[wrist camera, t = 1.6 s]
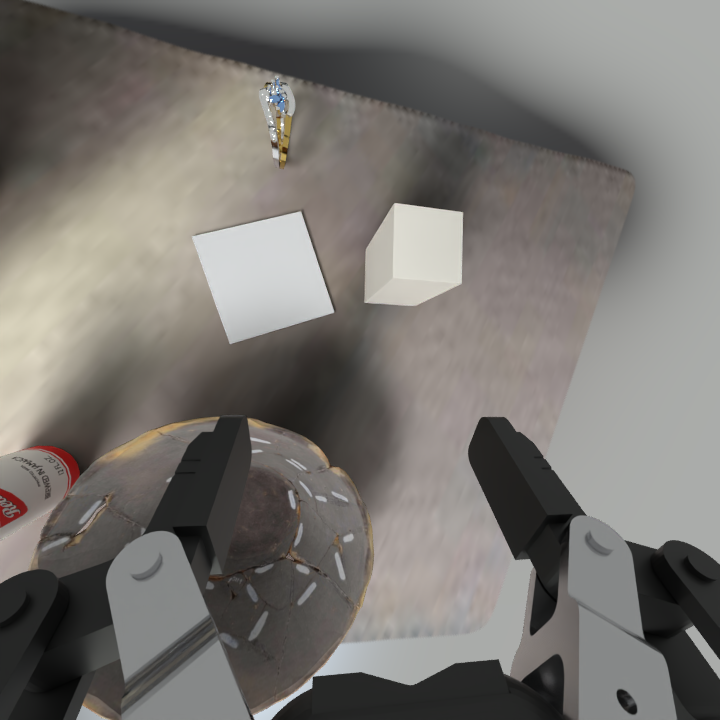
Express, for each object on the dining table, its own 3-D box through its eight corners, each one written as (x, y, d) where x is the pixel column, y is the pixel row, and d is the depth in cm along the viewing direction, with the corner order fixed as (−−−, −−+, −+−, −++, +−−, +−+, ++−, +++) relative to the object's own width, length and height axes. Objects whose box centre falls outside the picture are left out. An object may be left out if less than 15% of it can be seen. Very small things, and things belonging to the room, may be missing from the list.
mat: (193, 238, 33) (191, 236, 33) (300, 213, 35) (300, 211, 35) (230, 344, 34) (229, 344, 33) (333, 312, 36) (334, 312, 36)
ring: (268, 119, 35) (260, 49, 27) (297, 126, 35) (297, 58, 27) (264, 180, 34) (255, 127, 27) (293, 185, 35) (292, 135, 27)
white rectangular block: (414, 306, 38) (461, 283, 27) (364, 302, 37) (392, 277, 26) (415, 254, 38) (462, 212, 27) (365, 249, 37) (394, 202, 26)
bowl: (59, 585, 30) (-54, 691, 20) (184, 362, 33) (136, 362, 23) (292, 656, 35) (291, 772, 25) (386, 455, 37) (419, 488, 27)
